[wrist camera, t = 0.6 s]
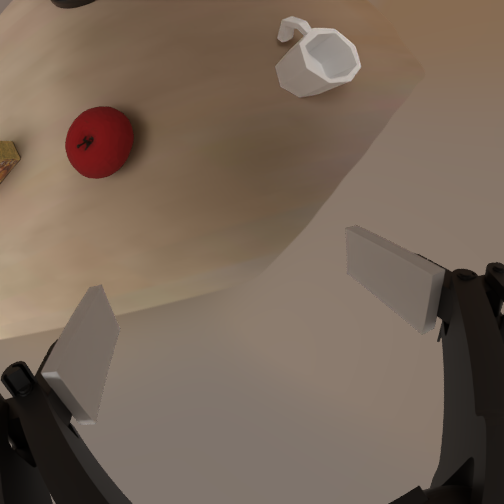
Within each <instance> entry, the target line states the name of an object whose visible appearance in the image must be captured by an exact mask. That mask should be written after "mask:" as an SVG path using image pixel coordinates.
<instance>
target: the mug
mask: <svg viewBox="0 0 504 504" xmlns="http://www.w3.org/2000/svg"><path fill="white" fill-rule="evenodd" d="M294 28H295V29H298V30H299V31H300V32H301V33H302V34H303V35H304V37H303V38H301V39H300V40H299V41H298V42H297V43H296V44H295V45H294V46H293V47H292V48H291V49H290V50H289V51H288V52H287V53H286V54H285V55H284V56H283V57H282V59H281V60H280V61H279V62H278V63H277V64H276V66H275V69H276V72H277V76H278V80H279V83H280V87H282V88H283V89H285V90H287V91H289V92H290V93H292V94H294V95H296V96H297V97H299V98H300V97H306V96H313V95H318V94H321V93H323V92H325V91H328V90H330V89H333V88H335V87H337V86H340V85H343V84H345V83H348V82H350V81H351V80H352V79H353V78H354V76H355V75H356V73H357V72H358V71H359V69H360V68H361V64H360V60H359V57H358V54H357V50H356V47H355V45H354V44H353V43H351V42H350V41H349V40H348V39H347V38H346V37H344V36H343V35H342V34H341V33H339V32H338V31H337V30H336V29H329V28H313V29H311V27H310V26H309V24H308V22H307V21H305V20H302V19H299V18H296V17H293V16H291V17H288V18H286V19H283V20H282V21H281V25H280V29H279V33H278V37H277V39H278V40H280V41H281V42H286V41H288V40H290V39H292V38H293V34H294Z"/></svg>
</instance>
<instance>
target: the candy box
mask: <svg viewBox="0 0 504 504" xmlns="http://www.w3.org/2000/svg"><path fill="white" fill-rule="evenodd" d="M19 160H20V157H19V155H18V153H17V151H16V149H15V147H14V144H13V142H12V141H0V183H1V182H2V180H3V179H4V178H5V177H6V175H7V174H8V173H9V172H10V171H11V169H12V168H13V167H14V166H15V165H16V163H17V162H18V161H19Z"/></svg>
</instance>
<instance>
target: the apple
mask: <svg viewBox="0 0 504 504" xmlns="http://www.w3.org/2000/svg"><path fill="white" fill-rule="evenodd" d="M133 139H134V134H133V129H132V126H131V124H130V121H129V119H128V118H127V117H126V116H125V115H124V114H123V113H122V112H120V111H118V110H116V109H114V108H111V107H95V108H91V109H88V110H86V111H84V112H83V113H82V114H81V115H79V116H78V117H77V118H76V119H75V121H74V122H73V123H72V125H71V127H70V128H69V131H68V133H67V137H66V142H65V149H66V153H67V156H68V159H69V161H70V163H71V164H72V166H73V167H74V168H75V169H76V170H77V171H78V172H79V173H80V174H82V175H83V176H85V177H88V178H96V179H98V178H103V177H107V176H110V175H112V174H113V173H115V172H116V171H118V170H119V169H120V168H121V167H122V166H123V164H124V163H125V161H126V160H127V158H128V156H129V153H130V151H131V148H132V145H133Z"/></svg>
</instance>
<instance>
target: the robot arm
mask: <svg viewBox="0 0 504 504" xmlns="http://www.w3.org/2000/svg"><path fill="white" fill-rule="evenodd" d="M51 1H52V3H53V4H54V5H56V6H58V7H60V8H74V7H79V6H82V5H85V4H88V3H90V2H93V1H95V0H51ZM346 250H347V274H349V275H350V276H351V277H352V278H353V279H355V280H356V281H357V282H359V283H360V284H361V285H362V286H364V287H365V288H366V289H367V290H369V291H370V292H371V293H372V294H374V295H375V296H376V297H377V298H378V299H380V300H381V301H382V302H383V303H385V304H386V305H387V306H388V307H389V308H391V309H392V310H393V311H394V312H395V313H397V314H398V315H399V316H400V317H401V318H403V319H404V320H405V321H406V322H408V323H409V324H410V325H411V326H412V327H413V328H415V329H416V330H417V331H418V332H419V333H420V334H422V335H423V334H425V333H426V332H428V331H430V330H432V329H434V327H435V322H436V318H437V316H438V317H439V318H441V319H442V324H441V328H440V332H439V336H438V340H437V342H439V341H440V338H441V337H442V347H443V362H444V419H443V435H442V446H441V455H440V462H439V465H438V468H437V471H436V473H435V475H434V477H433V480H432V483H431V486H430V488H429V489H426V490H422V489H421V487H420V486H418V487H416V488H414V489H413V490H411V491H410V492H408V493H406V494H405V495H403V496H401V497H400V498H398V499H396V500H394V501H393V502H391V503H389V504H504V315H503V314H502V313H501V308H502V305H503V302H504V265H503V264H502V263H498V262H496V263H489V264H488V265H487V267H486V273H485V275H481V276H478V275H477V274H476V273H475V272H473V271H471V270H468V269H456V270H454V271H453V272H451V271H449V270H447V269H446V268H444V267H442V266H440V265H438V264H436V263H433V261H431V260H427V258H425V257H423V256H421V255H419V254H415V253H413V252H410V251H409V250H407V249H405V248H403V247H401V246H399V245H397V244H395V243H393V242H391V241H389V240H387V239H385V238H383V237H381V236H379V235H377V234H374V233H372V232H370V231H368V230H366V229H364V228H362V227H359V226H357V225H356V226H352V227H347V228H346ZM119 332H120V327H119V325H118V323H117V320H116V318H115V316H114V314H113V311H112V309H111V306H110V304H109V302H108V299H107V297H106V294H105V292H104V289H103V287H102V285H98V286H94V287H90V288H89V289H88V291H87V292H86V294H85V295H84V297H83V298H82V300H81V302H80V303H79V305H78V306H77V308H76V310H75V311H74V313H73V315H72V316H71V318H70V320H69V321H68V323H67V325H66V326H65V328H64V330H63V332H62V334H61V335H60V337H59V339H57V340H56V342H54V343H53V344H52V345H51V347H50V348H49V350H48V352H47V355H46V356H45V357H44V359H43V362H42V363H41V365H40V367H39V369H38V371H37V373H36V375H35V377H34V375H33V374H32V372H31V371H30V369H29V368H28V366H27V365H26V363H25V362H22V361H19V362H16V363H13V364H11V365H10V366H9V367H7V369H6V370H5V371H4V372H3V374H2V376H1V381H2V383H3V384H4V385H5V387H6V388H7V390H8V391H9V392H10V393H11V395H12V396H13V397H12V398H9V399H6V400H5V399H4V398H3V397H2V395H1V394H0V504H53V503H52V499H51V496H52V497H53V499H54V501H55V503H56V504H132V503H131V501H130V500H129V499H128V498H127V497H126V496H125V495H124V494H123V493H122V491H121V490H120V489H119V488H118V487H117V486H116V484H115V483H114V482H113V481H112V479H111V478H110V477H109V476H108V474H107V473H106V472H105V471H104V469H103V468H102V467H101V465H100V464H99V463H98V461H97V460H96V459H95V457H94V456H93V455H92V453H91V452H90V450H89V449H88V447H87V446H86V444H85V443H84V441H83V440H82V438H81V437H80V435H79V434H78V432H77V431H76V429H75V427H74V426H73V425H72V424H71V423H70V420H71V417H72V415H73V417H74V418H75V419H76V420H77V421H78V422H79V424H96V421H97V416H98V411H99V407H100V402H101V397H102V394H103V389H104V385H105V381H106V377H107V374H108V370H109V366H110V362H111V359H112V355H113V352H114V348H115V345H116V341H117V338H118V335H119ZM9 442H10V443H11V444H12V447H11V445H10V443H9ZM50 494H51V496H50Z"/></svg>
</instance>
